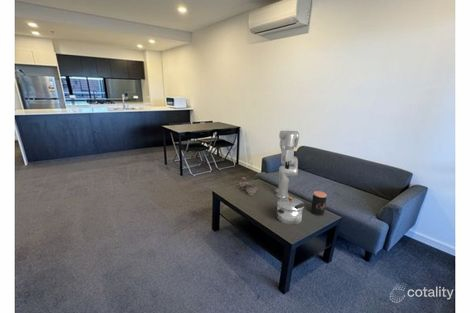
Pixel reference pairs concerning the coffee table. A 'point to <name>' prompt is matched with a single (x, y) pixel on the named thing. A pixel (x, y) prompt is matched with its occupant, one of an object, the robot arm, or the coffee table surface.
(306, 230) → the coffee table surface
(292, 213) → the cooker pot
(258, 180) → the coffee table surface
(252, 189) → the pottery
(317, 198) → the coffee jar
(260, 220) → the coffee table surface
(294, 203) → the cooker lid
